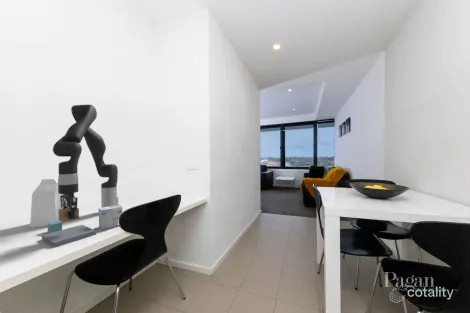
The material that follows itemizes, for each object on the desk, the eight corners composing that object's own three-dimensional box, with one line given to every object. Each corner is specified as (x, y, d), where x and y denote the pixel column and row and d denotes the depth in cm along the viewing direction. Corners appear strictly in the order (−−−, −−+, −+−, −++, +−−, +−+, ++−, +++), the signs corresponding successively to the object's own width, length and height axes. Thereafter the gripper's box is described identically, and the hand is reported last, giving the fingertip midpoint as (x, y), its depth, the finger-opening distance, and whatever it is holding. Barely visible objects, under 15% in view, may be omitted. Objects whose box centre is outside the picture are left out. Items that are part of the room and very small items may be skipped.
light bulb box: (120, 222, 116) (119, 204, 116) (123, 225, 111) (123, 206, 111) (98, 227, 109) (97, 207, 109) (100, 230, 104) (100, 210, 104)
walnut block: (74, 216, 100) (73, 206, 100) (79, 218, 97) (78, 208, 97) (58, 219, 95) (58, 209, 95) (63, 222, 92) (63, 211, 91)
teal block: (58, 228, 107) (58, 220, 107) (62, 230, 104) (62, 222, 104) (47, 231, 103) (47, 223, 103) (50, 233, 100) (50, 224, 100)
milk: (67, 218, 123) (66, 177, 123) (56, 225, 112) (55, 179, 112) (44, 220, 120) (43, 178, 120) (30, 227, 109) (29, 180, 109)
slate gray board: (81, 228, 107) (81, 224, 107) (95, 234, 98) (95, 230, 98) (41, 239, 93) (41, 235, 93) (54, 247, 85) (54, 242, 85)
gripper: (84, 183, 95) (84, 217, 95) (71, 181, 103) (72, 213, 103) (64, 185, 89) (65, 222, 89) (53, 183, 96) (53, 217, 96)
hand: (69, 217), depth 96 cm, fingers closed on walnut block, 6 cm apart
